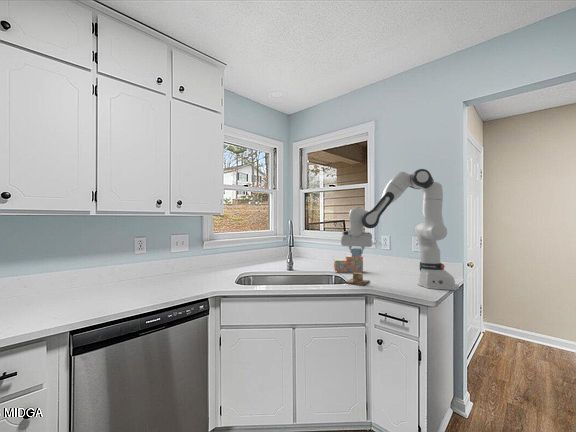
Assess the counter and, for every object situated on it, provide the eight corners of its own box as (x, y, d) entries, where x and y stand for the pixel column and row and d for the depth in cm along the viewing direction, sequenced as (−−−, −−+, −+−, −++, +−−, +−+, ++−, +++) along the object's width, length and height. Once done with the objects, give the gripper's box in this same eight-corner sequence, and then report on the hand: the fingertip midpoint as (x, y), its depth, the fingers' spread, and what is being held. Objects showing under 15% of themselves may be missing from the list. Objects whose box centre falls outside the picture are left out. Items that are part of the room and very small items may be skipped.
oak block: (362, 280, 192) (362, 272, 192) (360, 282, 188) (360, 274, 188) (355, 279, 195) (355, 272, 195) (352, 281, 190) (352, 273, 191)
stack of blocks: (335, 272, 229) (335, 256, 229) (334, 271, 235) (333, 255, 235) (363, 272, 228) (362, 256, 229) (361, 271, 235) (360, 255, 235)
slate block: (361, 256, 196) (361, 248, 196) (359, 256, 192) (359, 249, 192) (354, 255, 198) (354, 248, 199) (351, 256, 194) (351, 248, 194)
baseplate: (369, 282, 193) (369, 280, 193) (364, 285, 184) (364, 283, 184) (351, 280, 199) (351, 278, 199) (345, 283, 190) (345, 281, 190)
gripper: (373, 232, 192) (373, 253, 192) (343, 231, 203) (343, 252, 203) (370, 232, 187) (371, 254, 187) (340, 232, 198) (340, 253, 198)
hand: (356, 253), depth 195 cm, fingers closed on slate block, 5 cm apart
